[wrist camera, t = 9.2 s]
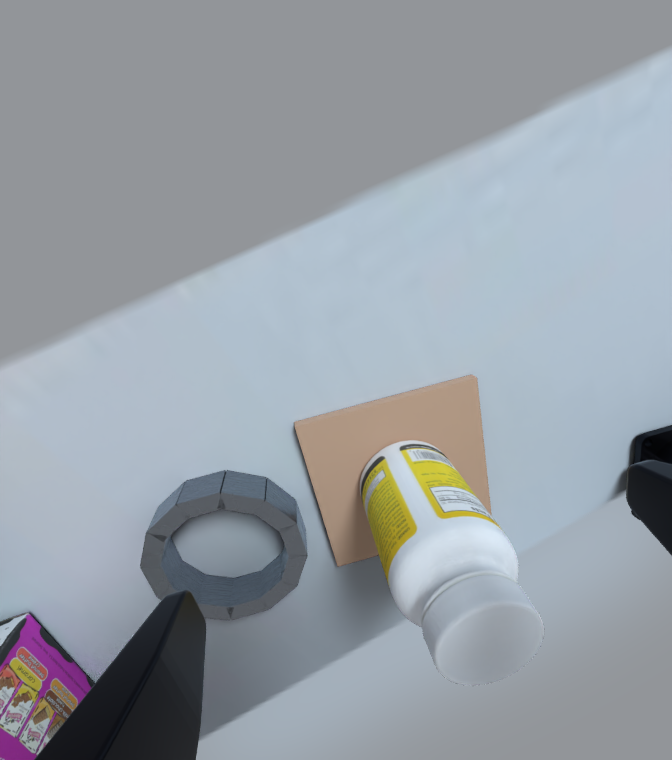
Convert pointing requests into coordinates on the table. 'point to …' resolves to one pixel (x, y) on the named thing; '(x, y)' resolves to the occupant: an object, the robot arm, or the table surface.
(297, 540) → the collar
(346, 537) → the mat
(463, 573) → the supplement bottle
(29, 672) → the candy bar box
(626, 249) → the table surface
